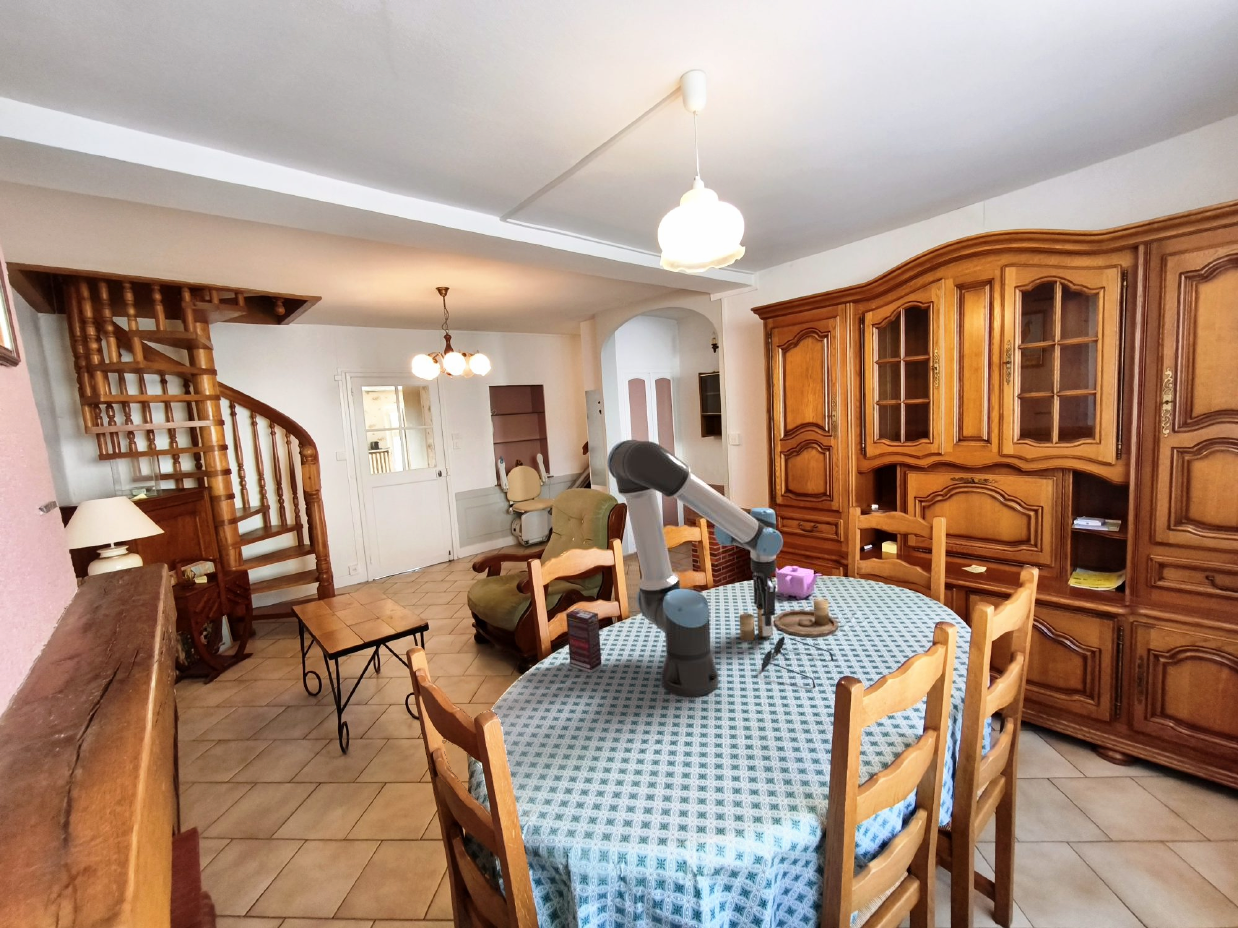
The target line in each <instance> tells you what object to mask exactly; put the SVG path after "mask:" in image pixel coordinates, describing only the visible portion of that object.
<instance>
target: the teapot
mask: <svg viewBox="0 0 1238 928" xmlns="http://www.w3.org/2000/svg"><path fill="white" fill-rule="evenodd" d="M774 573H775V579H776V584H777V585H776V589H777V593H778V594H782V597H784V598H789V597H790V596H793V597H796V599H797V600H799V601H801V600H804V599H805V598H806V597H807V596H809V595H811V594H812V593H813V592H814V591H815V585H816V584H817V583H816V582H817V579H818V578H819V577H820V576H823V575H822V574H821V573H815V574H814V569H809V568H803V567H799V566H795V565H793V566H791V565H786V566H784V567H783V568H782V569H778V568H777V567H776V572H774Z"/></svg>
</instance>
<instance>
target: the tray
mask: <svg viewBox="0 0 1238 928" xmlns="http://www.w3.org/2000/svg"><path fill="white" fill-rule="evenodd" d="M774 626H775V627H776V628H777V629H778V630H779V631H782V632H784V633H786V634H788V635H792V636H796V637H802V638H803V637H804V638H821V637H827V636H830V635H832V634H835V633H836V632H837V631H838V630H839V623H838V620H837V619H836V618H834V617H833V616H832V615H830V614H829V624H828V625H817V624H815V623H814V610H811V609H809V610H806V609H793V610H787V611H784V612H781V613H778V614H777V615H776V616H775V617H774Z"/></svg>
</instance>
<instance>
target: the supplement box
mask: <svg viewBox="0 0 1238 928" xmlns="http://www.w3.org/2000/svg"><path fill="white" fill-rule="evenodd" d="M565 615H566V626H567V628H566V629H567V640H568V641H567V642H568V654H569V655H568V656H569V665H570V667H573V668H576V669H579V670H582V671H585V672H588V673H590V674H592V673H594V672H595V671H597V670H599V669H600V668H601V667H602V666H603V664H602V651H601V638H600V626H599V625H600V624H599V613H598V612H593V611H588V610H585V609H581V608H574V609H572V610H570V611H568V612H566V613H565Z"/></svg>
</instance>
